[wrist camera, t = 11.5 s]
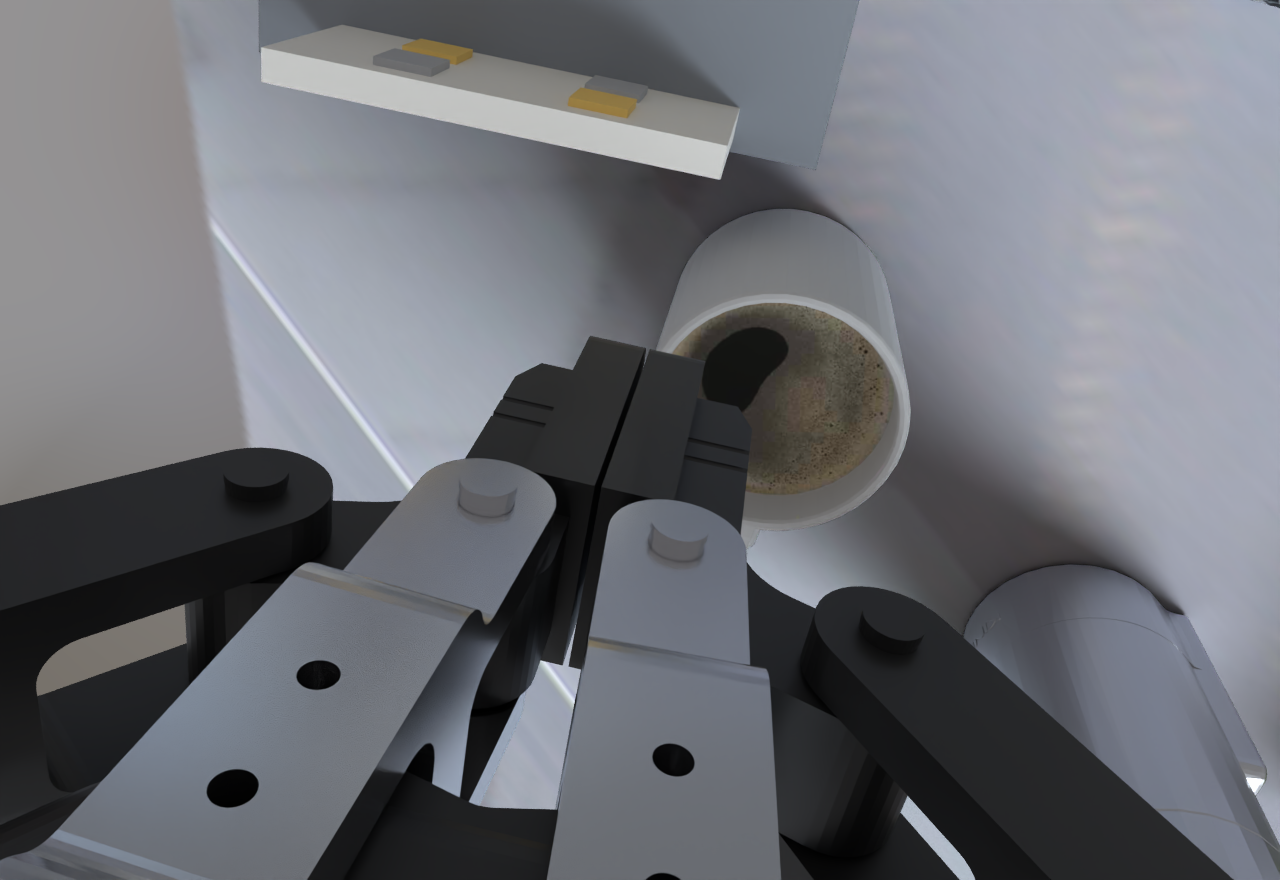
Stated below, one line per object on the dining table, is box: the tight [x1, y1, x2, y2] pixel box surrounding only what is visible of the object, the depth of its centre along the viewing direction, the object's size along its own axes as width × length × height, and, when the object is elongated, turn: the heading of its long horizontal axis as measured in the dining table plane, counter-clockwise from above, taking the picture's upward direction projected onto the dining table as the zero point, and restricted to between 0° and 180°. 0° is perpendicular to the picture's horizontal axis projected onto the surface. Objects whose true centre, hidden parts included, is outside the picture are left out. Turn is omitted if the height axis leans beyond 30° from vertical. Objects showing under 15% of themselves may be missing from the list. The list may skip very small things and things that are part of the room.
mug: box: [656, 209, 911, 550], centre depth 39 cm, size 11×10×10 cm
